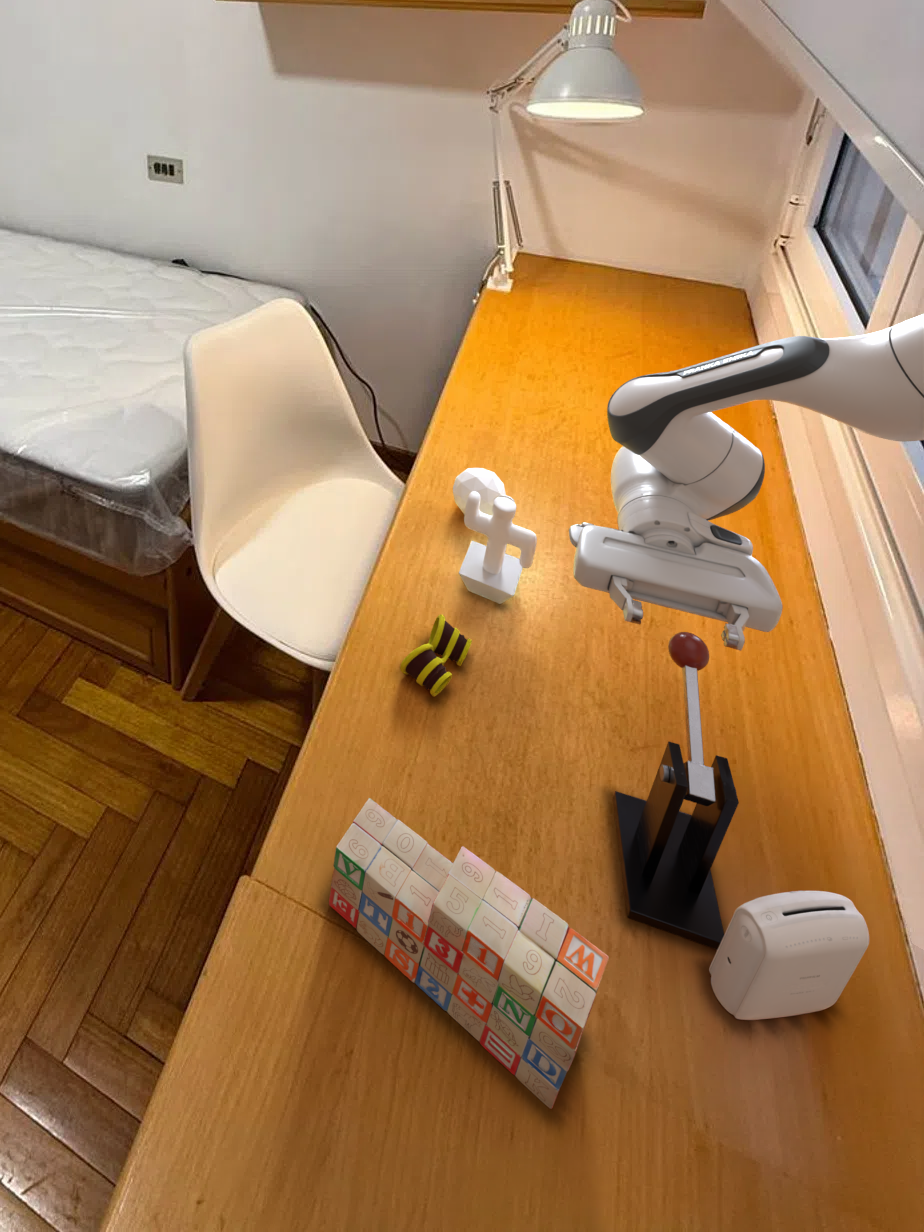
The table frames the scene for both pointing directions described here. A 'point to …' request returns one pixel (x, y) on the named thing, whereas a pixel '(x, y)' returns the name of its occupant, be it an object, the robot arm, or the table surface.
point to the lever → (693, 715)
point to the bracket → (674, 851)
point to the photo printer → (788, 954)
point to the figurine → (495, 550)
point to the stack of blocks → (471, 945)
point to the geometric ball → (478, 488)
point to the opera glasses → (428, 664)
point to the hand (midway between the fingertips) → (683, 631)
